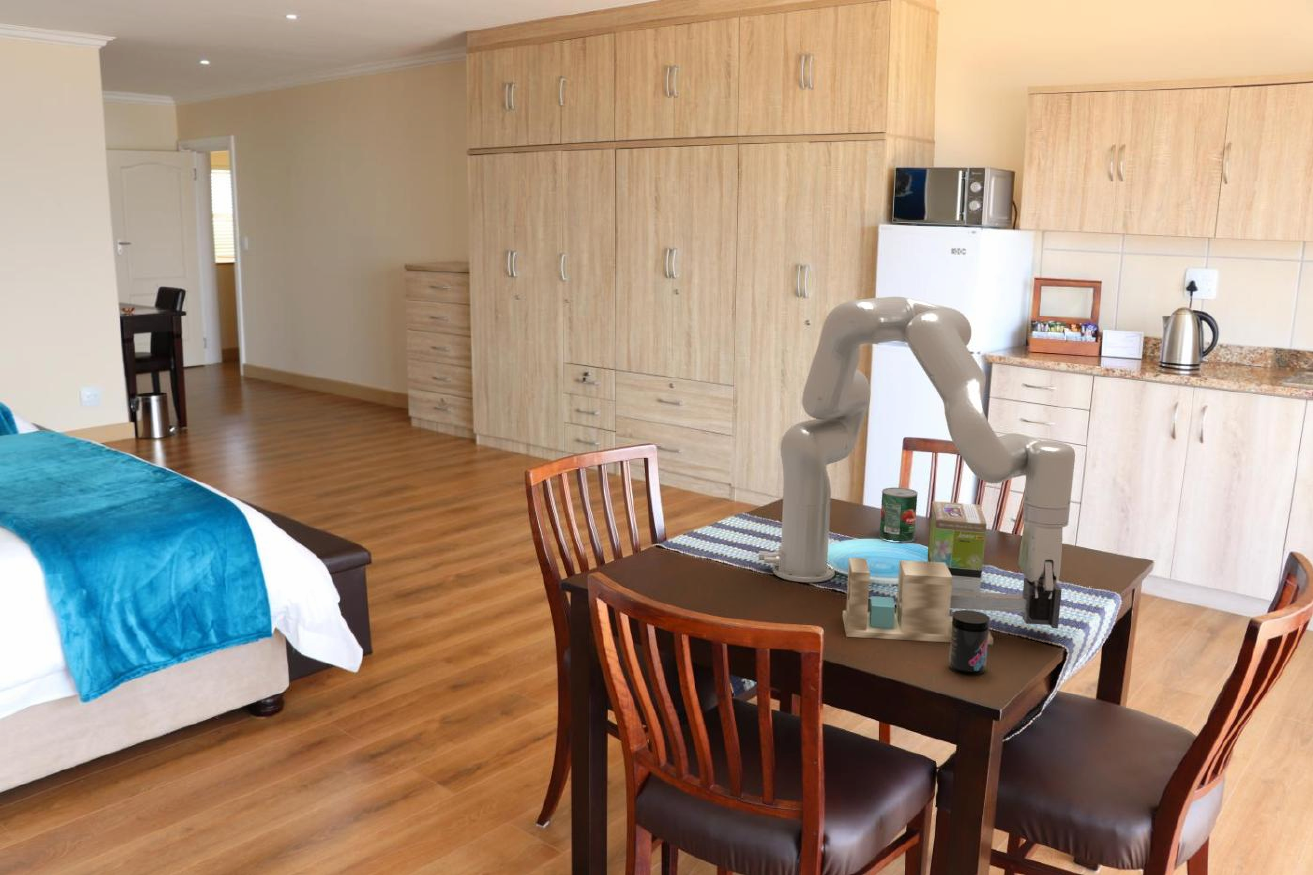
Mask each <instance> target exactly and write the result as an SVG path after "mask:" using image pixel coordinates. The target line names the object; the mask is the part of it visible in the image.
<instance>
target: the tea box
mask: <svg viewBox="0 0 1313 875" xmlns="http://www.w3.org/2000/svg"><path fill="white" fill-rule="evenodd" d="M929 523H930V524H929V536H928V547H927V548H928V549H927V557H926V558H927V559H926V562H945V563H946V565H947V567H948V569H949V571H950V573H951V575H952V590H951V591H965V592H981V585H982V584H981V583H982V577H983V576H982V575H983V574H982V573H983V565H984V554H985V544H986V537H987V536H986V535H987V521H986V517H985V515H984V513H983V510H982V507H981V504H975V503H973V504H972V503H963V502H962V503H959V502H950V501H932V502H931V511H930V522H929Z"/></svg>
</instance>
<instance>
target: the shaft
mask: <svg viewBox="0 0 1313 875" xmlns="http://www.w3.org/2000/svg"><path fill="white" fill-rule="evenodd" d="M1038 580H1044V579H1038ZM1043 585H1044V584H1039V588H1040V587H1043ZM1022 589H1023V590H1022V594H1020V593H1019V594H1018V593H1000V592H983V591H982V592H981V591H980V592H965V591H951V603H950V609H957V610H958V609H959V610H971V611H995V612H998V611H999V612H1013V613H1014V612H1015V613H1020V616H1021V618H1022V621H1024V622H1025V624H1026V625H1027V624H1028V625H1043V626H1044V625H1045V626H1050V628H1051V629H1059V619H1060V613H1061V612H1060V608H1061V601H1062V600H1061V599H1062V591H1063V590H1062V589H1061V587H1060V586H1059V585H1058V582H1056V583H1053V591H1052V598H1051V607H1050V617H1049V620H1032V619H1031V618H1030V607H1031V597H1034V581H1033V582H1030V581H1029V580H1028V579H1027V578H1026V577H1024V579H1023V586H1022Z"/></svg>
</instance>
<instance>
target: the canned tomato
mask: <svg viewBox="0 0 1313 875" xmlns="http://www.w3.org/2000/svg"><path fill="white" fill-rule="evenodd" d="M881 492H882V493H881V507H880V509H881V510H880V521H879V522H880V524H879V535H878V536H879V539H880V540H882V539H886V540H893V541H899V542H908V543H911V542H912V543H913V541H915V539H916V538H915V535H916V534H915V533H916V521H917V520H916V519H917V505H918V491H916V490H914V489H911V488H906V487H895V486H894V487H885V488H883V489H882V491H881ZM908 543H907V544H908Z"/></svg>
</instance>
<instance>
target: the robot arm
mask: <svg viewBox="0 0 1313 875" xmlns="http://www.w3.org/2000/svg"><path fill="white" fill-rule="evenodd" d="M971 339H972V326H971V324H970V322H969V320H968V318H967V317H966V316H965V314H963V313H962V312H960V311H959V310H956V309H955V308H951V307H947V306H944V305H937V304H933V303H929V302H926V301H920V300H918V299H914V298H913V299H912V298H909V297H903V296H887V297H886V296H885V297H872V298H863V299H862V298H861V299H855V300H853V299H852V300H849V301H845V302H842V303H840V304H838V305H836V306H835V307H834V308H833V309H831V310H830V311H829V313H828V315H826V317H825V320H824V322H823V325H822V328H821V333H820V337H819V342H818V344H817V348H816V350H815V353H814V356H813V360H812V362H811V366H810V368H809V372H808V374H807V379H806V382H805V384H804V388H803V392H802V397H801V398H802V399H801V404H802V407H803V410H804V412H805V413H806V414H807V415H808V416H809V417H811V418H813V419H809V420H805V421H801V422H799V423H797V424H794V425H793V426H791V427H790V428H788V429H787V430H786V432H785V433H784V435H783V436H782V438H781V442H780V456H781V462H782V463H781V465H782V473H783V487H782V488H783V489H782V491H783V493H782V498H783V499H782V514H781V515H782V520H781V541H780V542H781V544H780V545H781V546H779V547H778V548H779V550H777V549H776V550H775V549H774V550H773V551H768V550H759V551H758V561H764V562H763V564H772V573H773V574H774V575H775V576H777V577H779V578H781V579H783V580H786V581H790V582H796V583H799V582H800V583H819V582H826V581H829V580H831V579H832V578H833V577H834V576H835V570H834V569H835V568H834V569H831V567H830V566H828V565H827V563H828V557H829V538H830V519H831V518H830V516H831V499H832V498H831V495H832V494H831V492H832V491H831V489H832V487H831V482H830V476H829V473H828V470H827V466H828V465H830V464H834V463H836V462H841V461H843V460H844V459H846V458H847V457H848V456H850V454H851V453H852V452H853V450H854V448H855V446H856V444H857V441H858V438H859V435H860V433H861V429H862V426H863V424H864V421H865V417H866V415H867V411H868V409H869V405H870V401H871V394H872V393H871V385H870V383H869V380H868V378H867V376H866V375H865V374H864V373H863V372H862V371H860V370H859V369H858V366H859V363H860V361H861V360H860V359H861V346H862V345H869V344H870V345H871V344H873V345H874V344H875V345H876V344H880V343H881V344H882V343H883V344H884V343H888V342H889V343H891V342H896V341H897V342H900V343H901V342H902V343H906V344H907V346H908V347H909V349H910V351H911V353H912V354H913V356H914V357H915V359H916V361H917V362H918V364H919V365H920V367H921V368H922V370H923V371H924V373H925V374H926V376H927V378H928V379H929V381H930V383H931V384H932V386H933V388H934V389H935V390H936V392H937V393H938V395H939V397H940V398H941V400H942V403H943V408H944V410H943V411H944V417H945V420H946V425H947V429H948V432H949V436H950V438H951V440H952V443H953V445H954V446H955V449H956V450H957V452H958V453H959V455H960V456H961V457H962V459H963V461H964V462H965V464H966V465H967V467H968V468H969V469H970V471H971V473H973V475H975V476H976V477H977V478H978V479H980V480H981V481H982V482H986V483H988V484H1001V483H1004V482H1006V481H1008V480H1010V479H1013V478H1017V477H1018V478H1019V477H1023V476H1025V482H1024V483H1025V484H1024V486H1025V487H1024V494H1023V495H1024V496H1023V507H1022V514H1021V516H1022V517H1021V521H1022V522H1024V523H1023V528H1022V534H1021V540H1020V547H1019V548H1020V549H1019V555H1018V567H1019V569H1020V570H1021V573H1023V575H1024V576H1025V578H1027V579H1028V580H1029V581H1030V582H1033V581H1034V597H1031V607H1030V618H1031V619H1032V620H1049V617H1050V607H1051V598H1052V591H1053V583H1058V581H1059V579H1060V574H1061V567H1062V565H1061V564H1062V554H1063V553H1062V550H1063V528H1065V527H1067V526H1069V519H1070V511H1071V500H1072V491H1073V490H1072V489H1073V479H1074V469H1075V462H1076V460H1075V459H1076V453H1075V452H1076V451H1075V449H1074V448H1073V447H1072V446H1071V445H1069V444H1067V443H1063V442H1057V441H1049V440H1048V441H1046V440H1041V439H1037V438H1034V437H1031V436H1028V435H1025V434H1020V433H1007V434H1004V435H999V436H998V435H997V434H996V432H995V430H994V429H993V428H992V426H991V425H990V422H989V421H988V419H987V416H986V415H985V412H984V408H983V402H982V401H983V392H984V390H985V387H986V386H985V385H986V380H987V379H986V374H985V372H983V369H982V368H981V366H980V365H979V364H978V362H977V360H976V359H975V358H974V356H973V354H972V352H971V351H970V350H969V348H968V347H967V346H968V345H969V343H970V342H971ZM1038 579H1044V580H1038ZM1039 584H1044V585H1043V587H1040V588H1039Z"/></svg>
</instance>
